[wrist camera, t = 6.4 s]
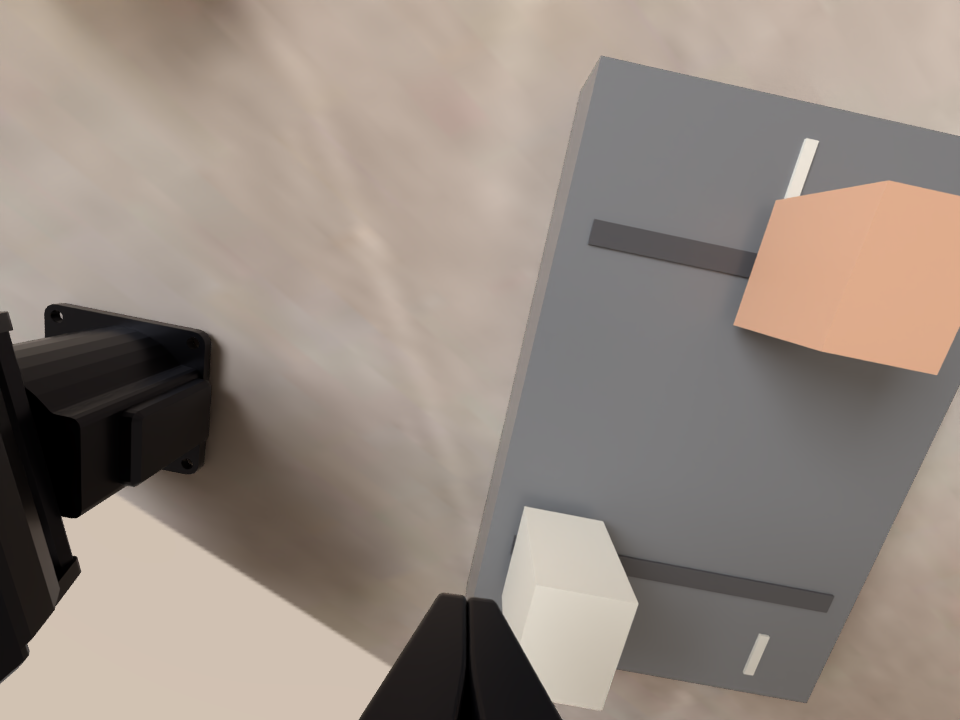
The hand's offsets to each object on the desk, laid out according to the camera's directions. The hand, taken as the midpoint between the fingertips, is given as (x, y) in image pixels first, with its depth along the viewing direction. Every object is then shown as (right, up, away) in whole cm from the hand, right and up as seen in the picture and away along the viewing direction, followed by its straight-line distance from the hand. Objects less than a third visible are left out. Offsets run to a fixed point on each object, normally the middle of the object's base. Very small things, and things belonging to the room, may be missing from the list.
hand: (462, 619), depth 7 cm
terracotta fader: (+11, +7, +8) cm, 15 cm away
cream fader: (+3, -4, +10) cm, 11 cm away
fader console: (+9, +2, +12) cm, 16 cm away
